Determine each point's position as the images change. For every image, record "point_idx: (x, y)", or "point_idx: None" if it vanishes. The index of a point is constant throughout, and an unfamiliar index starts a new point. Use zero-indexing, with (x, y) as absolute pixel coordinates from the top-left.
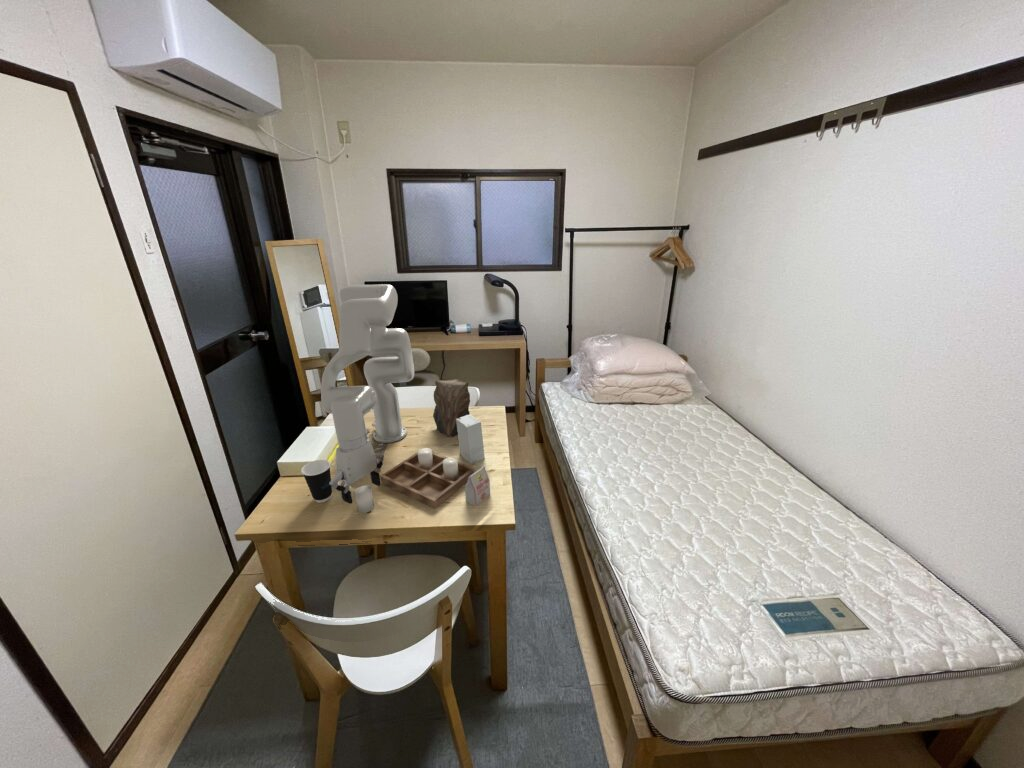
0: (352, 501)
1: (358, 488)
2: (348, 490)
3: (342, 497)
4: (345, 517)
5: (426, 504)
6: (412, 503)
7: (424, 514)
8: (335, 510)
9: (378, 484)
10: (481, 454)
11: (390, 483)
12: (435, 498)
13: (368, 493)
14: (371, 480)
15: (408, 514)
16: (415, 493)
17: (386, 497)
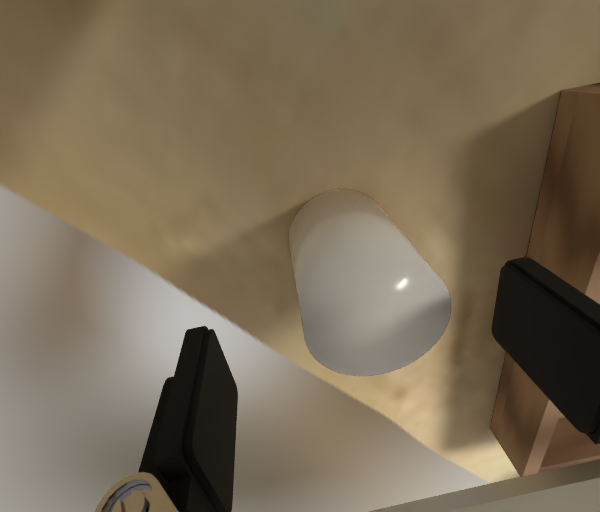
0: (237, 397)
1: (370, 276)
2: (219, 503)
3: (161, 403)
4: (200, 235)
5: (503, 410)
6: (487, 355)
7: (455, 422)
8: (164, 111)
9: (503, 343)
10: None
11: (582, 218)
12: (538, 472)
13: (381, 368)
14: (523, 278)
15: (423, 394)
16: (539, 402)
17: (466, 239)
